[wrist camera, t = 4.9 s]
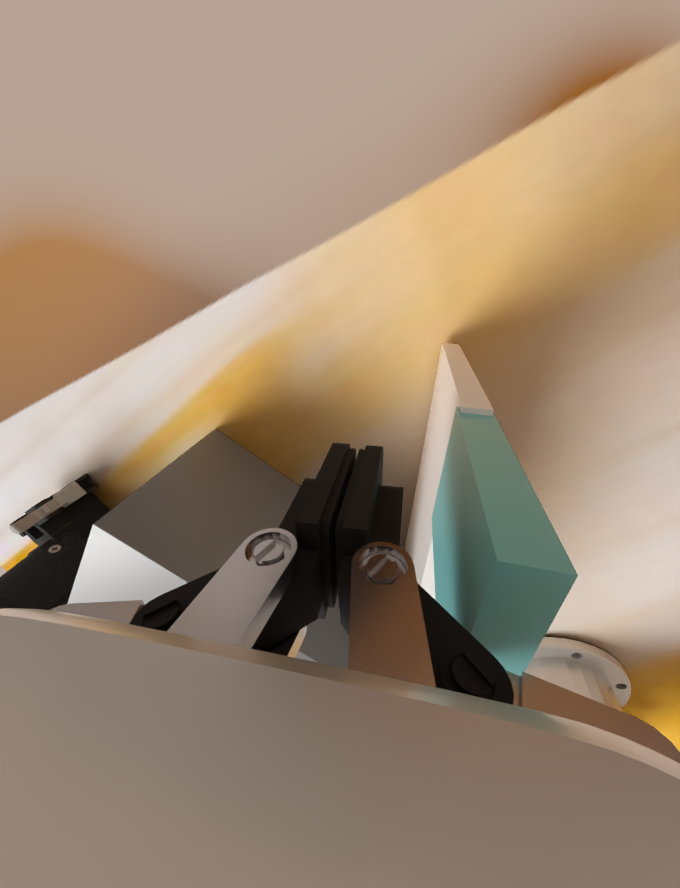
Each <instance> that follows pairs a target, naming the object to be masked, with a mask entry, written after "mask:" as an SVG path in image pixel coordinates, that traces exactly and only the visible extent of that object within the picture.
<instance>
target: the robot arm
mask: <svg viewBox="0 0 680 888" xmlns="http://www.w3.org/2000/svg"><path fill="white" fill-rule="evenodd" d="M382 471H383V447H382V446H368V445H367V446H366V448H365V450H364V449H360V450H359V453H358V456H357V459H356V449H350V444H340V443H333V444H332V446H331V448H330V450H329V452H328V454H327V456H326V458H325V460H324V462H323V465H322V467H321V469H320V471H319V473H318V475H317V477H316V479H305V480H304V481H303V483H302V485H301V487H300V489H299V490H298V492H297V494H296V496H295V498H294V500H293V502H292V503H291V505H290V507H289V509H288V511H287V513H286V515H285V517H284V518H283V520H282V522H281V524H280V526H279V528H268V529H264V530H260V531H257V532H256V533H254V534H252V535H250V536H249V537H248V538H247V539H246V540H245V541H244V542H243V543H242V544H241V545H240V546H239V547H238V549H237V550H236V551H235V552H234V553H233V554H232V556H231V557H230V558H229V559H228V560H227V561H226V563H225V564H224V565H223V566H222V567H221V568H219V569H217V570H215V571H213V572H211V573H208V574H206V575H204V576H202V577H200V578H197V579H195V580H193V581H191V582H188V583H186V584H184V585H182V586H180V587H177V588H175V589H173V590H171V591H169V592H166V593H164V594H162V595H160V596H158V597H156V598H154V599H153V600H151V601H149V602H148V603H147V604H144V602H143V600H131V601H112V602H92V603H73V604H66V605H61V606H57V607H55V608H53V609H51V610H42V609H24V608H4V609H0V888H680V752H679V751H678V750H677V748H676V747H675V746H674V745H673V743H672V742H671V741H670V740H668V739H667V738H666V737H665V736H664V735H662V734H661V733H660V732H659V731H658V730H657V729H655V728H654V727H653V726H651V725H649V724H647V723H646V722H644V721H642V720H640V719H638V718H636V717H634V716H632V715H629V714H627V713H624V712H623V710H622V707H623V706H624V705H625V704H626V703H627V702H628V700H629V698H630V696H631V689H632V687H631V683H630V680H629V678H628V676H627V674H626V672H625V671H624V669H623V667H622V665H621V664H620V663H619V662H618V661H617V660H616V659H615V658H614V657H612V656H611V655H609V654H608V653H607V652H605V651H603V650H601V649H599V648H597V647H595V646H592V645H589V644H586V643H583V642H580V641H576V640H571V639H566V638H556V637H544V638H543V639H542V641H541V643H540V645H539V647H538V649H537V650H536V652H535V654H534V656H533V658H532V659H531V661H530V663H529V665H528V667H527V668H526V670H525V672H523V671H522V673H521V676H519V675H516V674H514V673H512V672H509V671H507V670H505V669H504V667H503V666H502V665H501V664H500V662H499V661H498V660H497V659H496V658H495V657H494V656H493V655H492V654H491V653H490V652H489V651H488V650H487V649H486V648H485V647H484V646H483V645H482V644H481V643H480V642H479V641H478V640H477V639H476V638H475V637H473V636H472V635H471V634H470V633H469V632H468V631H467V630H466V629H465V628H464V627H463V626H462V625H461V624H460V623H459V622H458V621H457V620H456V619H455V618H454V617H453V616H452V615H450V614H449V613H448V612H447V611H446V610H445V609H444V608H443V607H442V606H441V605H440V604H439V603H438V602H437V601H436V600H435V599H434V598H433V597H432V596H431V595H430V594H429V593H427V592H426V591H425V590H424V589H423V588H422V587H421V586H420V585H419V584H418V583H417V578H416V573H415V567H414V563H413V561H412V558H411V556H410V555H409V554H408V553H407V552H406V551H405V550H404V549H403V548H401V547H400V546H399V544H400V529H401V514H402V499H403V487H392V486H382ZM337 596H338V604H339V609H340V623H341V625H342V626H343V628H344V629H345V631H346V632H347V633H348V635H349V656H348V669H346V668H341V667H337V666H332V665H327V664H322V663H318V662H313V661H308V660H303V659H298V658H295V657H296V655H297V652H298V650H299V648H300V646H301V644H302V642H303V640H304V638H305V635H306V631H307V625H309V624H310V623H312V622H314V621H315V620H317V619H318V618H320V619H325V617H326V613H327V609H328V607H330V608H334V607H335V604H336V600H337Z"/></svg>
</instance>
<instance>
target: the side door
mask: <svg viewBox="0 0 680 888" xmlns="http://www.w3.org/2000/svg"><path fill="white" fill-rule="evenodd" d="M405 551H406V552H407V553H408V554H409V555H410V556H411V558H412V561H413V563H414V567H415V573H416V578H417V583H418V584H419V585H420V586H421V587H422V588H423V589H424V590H425V591H426V592H427V593H429V594H430V595H431V596H432V597H433V598H434V599H435V600H436V601H437V602H438V603H439V604H440V605H441V606H442V607H443V608H444V609H445V610H446V611H447V612H448V613H449V614H450V615H452V616H453V617H454V618H455V619H456V620H457V621H458V622H459V623H460V624H461V625H462V626H463V627H464V628H465V629H466V630H467V631H468V632H469V633H470V634H471V635H472V636H473V637H475V638H476V639H477V640H478V641H479V642H480V643H481V644H482V645H483V646H484V647H485V648H486V649H487V650H488V651H489V652H490V653H491V654H492V655H493V656H494V657H495V658H496V659H497V660H498V661H499V662H500V664H501V665H502V666H503V667H504V669H505V670H507V671H509V672H512V673H514V674H516V675H519V676H521V673H522V671H523V672H525V670H526V668H527V667H528V665H529V663H530V661H531V659H532V658H533V656H534V654H535V652H536V650H537V649H538V647H539V645H540V643H541V641H542V639H543V638H544V636H545V634H546V632H547V630H548V629H549V627H550V625H551V623H552V621H553V620H554V618H555V616H556V614H557V612H558V611H559V609H560V607H561V605H562V603H563V602H564V600H565V598H566V596H567V594H568V592H569V591H570V589H571V587H572V585H573V583H574V582H575V580H576V578H577V576H578V575H577V573H576V571H575V569H574V567H573V565H572V563H571V561H570V559H569V557H568V555H567V553H566V551H565V549H564V548H563V546H562V544H561V542H560V540H559V538H558V536H557V534H556V532H555V530H554V528H553V526H552V524H551V522H550V521H549V519H548V517H547V515H546V513H545V511H544V509H543V507H542V505H541V503H540V501H539V499H538V497H537V495H536V493H535V492H534V490H533V488H532V486H531V484H530V482H529V480H528V478H527V476H526V474H525V472H524V470H523V468H522V466H521V464H520V463H519V461H518V459H517V457H516V455H515V453H514V451H513V449H512V447H511V445H510V443H509V441H508V439H507V437H506V435H505V434H504V432H503V430H502V428H501V426H500V424H499V422H498V420H497V418H496V416H495V414H494V409H493V408H492V406H491V404H490V402H489V400H488V398H487V396H486V394H485V392H484V391H483V389H482V387H481V385H480V383H479V381H478V379H477V377H476V375H475V373H474V372H473V370H472V368H471V366H470V364H469V362H468V360H467V358H466V356H465V355H464V353H463V351H462V349H461V347H460V345H459V344H450V343H442V347H441V353H440V358H439V364H438V369H437V375H436V380H435V386H434V391H433V397H432V402H431V408H430V413H429V418H428V424H427V429H426V435H425V440H424V446H423V451H422V457H421V462H420V468H419V473H418V479H417V484H416V490H415V495H414V501H413V506H412V512H411V517H410V523H409V528H408V534H407V539H406V545H405Z"/></svg>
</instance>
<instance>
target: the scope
mask: <svg viewBox="0 0 680 888" xmlns="http://www.w3.org/2000/svg"><path fill="white" fill-rule="evenodd" d="M87 476H88V475H87V474H85V475H83V476H82V477H80V478H79V479H77V480H76V481H74V482H73V483H71V484H69V485H68V486H66V487H64V488H63V489H61V490H60V491H59V492H57V493H55V494H54V495H52V496H50V497H49V498H47V499H44V500H43V501H41V502H39V503H38V504H36V505H35V506H33V507H32V508H30V509H29V510H28V511H26V512H25V513H26V514H25V515H24V516H22V517H20V518H19V519H17V520H16V521H14V522H13V523H11V524H10V529H11V531H12V532H14V533H16V534H20V535H21V536H23V537H24V536H25V535H28V536H29V537H30V538H31V539H32V540H33V541H34V542H35V543H36V544H38V547H37V548H35V549H34V550H33V551H31V552H30V553H29V554H28V556H27V557H26V558H25V559H23V560H22V561H20V562H19V563H18V564H16V565H15V566H14V567H13V568H11V569H10V570H9V571H7V572H6V573H5V574H4V575H2V576H1V577H0V609H4V608H24V609H42V610H51V609H53V608H55V607H57V606H61V605H66V604H67V603H68V600H69V597H70V594H71V591H72V588H73V585H74V582H75V578H76V575H77V572H78V569H79V566H80V563H81V560H82V557H83V554H84V550H85V547H86V544H87V541H88V538H89V535H90V532H91V529H92V526H93V524H94V523H95V522H96V521H98V520H99V519H100V518H102V517H103V516H104V515H105V514H107V513H108V512H109V511H110V510H109V509H108V508H107V507H106V506H105V505H104V504H103V503H102V502H101V501H99V499H98V498H97V497H96V496H95V495H93V494H92V493H91V492H90V491H92V490H93V489H95V488H96V487H98V485H97V484H96V485H94V486H93V487H92V486H91V485H90V484H89V483H88V482H87V481H86V480H85V478H86V477H87Z"/></svg>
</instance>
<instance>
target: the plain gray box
mask: <svg viewBox="0 0 680 888" xmlns="http://www.w3.org/2000/svg"><path fill="white" fill-rule="evenodd" d="M299 489H300V486H299V485H298V484H296V483H295V482H293V481H292V480H290V479H289V478H287V477H286V476H284V475H283V474H281V473H280V472H278V471H277V470H276V469H274V468H273V467H271V466H270V465H268V464H267V463H265V462H264V461H262V460H261V459H259V458H258V457H256V456H255V455H253V454H252V453H251V452H249V451H248V450H246V449H245V448H243V447H242V446H240V445H239V444H237V443H236V442H234V441H233V440H231V439H230V438H229V437H227V436H226V435H224V434H223V433H221V432H220V431H218V430H217V429H214V430H213V431H212V432H211V433H209V434H208V435H207V436H205V437H204V438H203V439H202V440H200V441H199V442H198V443H196V444H195V445H194V446H193V447H191V448H190V449H189V450H187V451H186V452H185V453H184V454H182V455H181V456H180V457H178V458H177V459H176V460H175V461H173V462H172V463H171V464H169V465H168V466H167V467H166V468H164V469H163V470H162V471H161V472H159V473H158V474H157V475H155V476H154V477H153V478H152V479H150V480H149V481H148V482H146V483H145V484H144V485H143V486H141V487H140V488H139V489H137V490H136V491H135V492H134V493H132V494H131V495H130V496H128V497H127V498H126V499H125V500H123V501H122V502H121V503H119V504H118V505H117V506H116V507H114V508H113V509H112V510H110V511H109V512H108V513H107V514H105V515H104V516H103V517H102V518H100V519H99V520H98V521H96V522H95V523H94V524H93V526H92V529H91V532H90V535H89V538H88V541H87V544H86V547H85V550H84V554H83V557H82V560H81V563H80V566H79V569H78V572H77V575H76V578H75V582H74V585H73V588H72V591H71V594H70V597H69V600H68V603H67V604H73V603H92V602H112V601H131V600H143V602H144V604H147V603H148V602H149V601H151V600H153V599H154V598H156V597H158V596H160V595H162V594H164V593H166V592H169V591H171V590H173V589H175V588H177V587H180V586H182V585H184V584H186V583H188V582H191V581H193V580H195V579H197V578H200V577H202V576H204V575H206V574H208V573H211V572H213V571H215V570H217V569H219V568H221V567H222V566H223V565H224V564H225V563H226V561H227V560H228V559H229V558H230V557H231V556H232V554H233V553H234V552H235V551H236V550H237V549H238V547H239V546H240V545H241V544H242V543H243V542H244V541H245V540H246V539H247V538H248V537H249V536H250V535H252V534H254V533H256V532H257V531H260V530H264V529H268V528H279V526H280V524H281V522H282V520H283V518H284V517H285V515H286V513H287V511H288V509H289V507H290V505H291V503H292V502H293V500H294V498H295V496H296V494H297V492H298V490H299ZM348 656H349V635H348V633H347V632H346V631H345V629H344V628H343V626H342V625H341V623H340V609H339V604H338V596H337V600H336V604H335V607H334V608H330V607H328V609H327V613H326V617H325V619H320V618H318V619H317V620H315V621H314V622H312V623H310V624H309V625H307V631H306V635H305V638H304V640H303V642H302V644H301V646H300V648H299V650H298V652H297V655H296V657H295V658H298V659H303V660H308V661H313V662H318V663H322V664H327V665H332V666H337V667H341V668H346V669H348Z"/></svg>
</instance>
